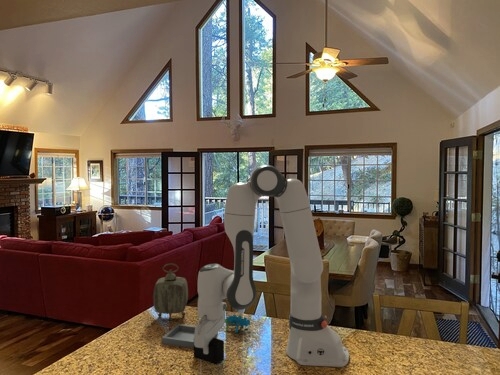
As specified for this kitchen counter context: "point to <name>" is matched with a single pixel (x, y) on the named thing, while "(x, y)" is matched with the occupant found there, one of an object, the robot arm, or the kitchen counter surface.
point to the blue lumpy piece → (236, 322)
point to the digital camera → (211, 352)
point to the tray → (180, 336)
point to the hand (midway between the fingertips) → (210, 348)
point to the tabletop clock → (170, 294)
